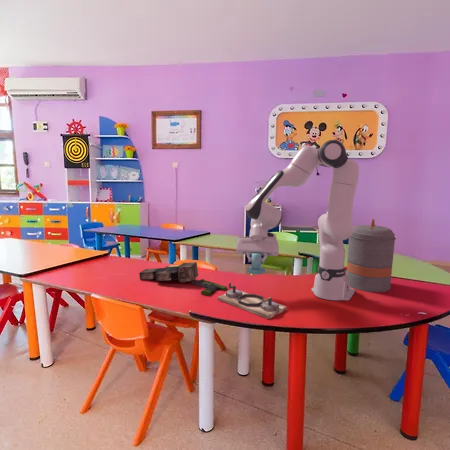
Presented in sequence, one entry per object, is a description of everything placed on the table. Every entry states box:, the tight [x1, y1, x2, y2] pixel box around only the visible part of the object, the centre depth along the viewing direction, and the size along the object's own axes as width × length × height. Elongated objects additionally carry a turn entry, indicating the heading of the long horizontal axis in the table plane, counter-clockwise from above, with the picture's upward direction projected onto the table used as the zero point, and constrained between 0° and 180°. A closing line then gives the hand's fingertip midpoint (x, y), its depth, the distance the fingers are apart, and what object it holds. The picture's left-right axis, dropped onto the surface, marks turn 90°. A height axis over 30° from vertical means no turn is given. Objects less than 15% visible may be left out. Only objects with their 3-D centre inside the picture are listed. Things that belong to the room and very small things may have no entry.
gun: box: [191, 278, 228, 297], centre depth 162 cm, size 2×19×15 cm
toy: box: [138, 261, 199, 283], centre depth 174 cm, size 16×9×30 cm
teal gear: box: [246, 253, 266, 275], centre depth 151 cm, size 8×8×8 cm
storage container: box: [345, 218, 397, 293], centre depth 168 cm, size 22×22×35 cm
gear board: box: [217, 282, 287, 320], centre depth 141 cm, size 13×28×8 cm, turn 46°
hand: (256, 262), depth 150 cm, fingers closed on teal gear, 4 cm apart
